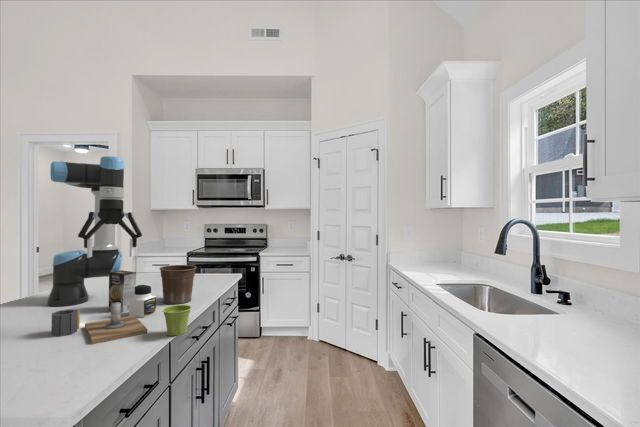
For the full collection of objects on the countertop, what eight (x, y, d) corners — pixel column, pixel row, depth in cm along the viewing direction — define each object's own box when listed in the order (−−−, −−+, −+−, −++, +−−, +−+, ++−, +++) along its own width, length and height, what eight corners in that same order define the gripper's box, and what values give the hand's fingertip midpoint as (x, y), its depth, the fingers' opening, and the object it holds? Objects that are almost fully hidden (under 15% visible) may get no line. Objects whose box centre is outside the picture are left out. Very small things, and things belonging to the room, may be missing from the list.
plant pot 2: (173, 340, 111) (173, 313, 111) (156, 334, 116) (156, 309, 116) (197, 332, 119) (197, 307, 119) (180, 327, 124) (180, 303, 124)
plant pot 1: (203, 300, 163) (203, 266, 163) (173, 307, 149) (173, 271, 149) (182, 295, 172) (182, 263, 172) (151, 302, 158) (152, 267, 158)
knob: (51, 332, 117) (51, 311, 117) (78, 327, 122) (78, 308, 122) (51, 337, 112) (52, 316, 112) (80, 332, 117) (80, 312, 117)
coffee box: (107, 309, 145) (108, 272, 145) (121, 306, 151) (122, 269, 151) (122, 312, 142) (123, 273, 142) (136, 308, 148) (136, 271, 148)
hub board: (84, 327, 122) (85, 301, 122) (134, 319, 133) (134, 294, 133) (91, 344, 107) (92, 314, 107) (147, 333, 117) (147, 305, 117)
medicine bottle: (144, 317, 135) (144, 287, 135) (128, 316, 136) (129, 286, 136) (156, 312, 142) (156, 284, 142) (141, 311, 143) (141, 283, 143)
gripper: (67, 197, 118) (66, 258, 118) (147, 199, 125) (146, 257, 125) (76, 198, 125) (75, 256, 125) (150, 200, 132) (150, 254, 132)
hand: (110, 256), depth 125 cm, fingers open, 13 cm apart
